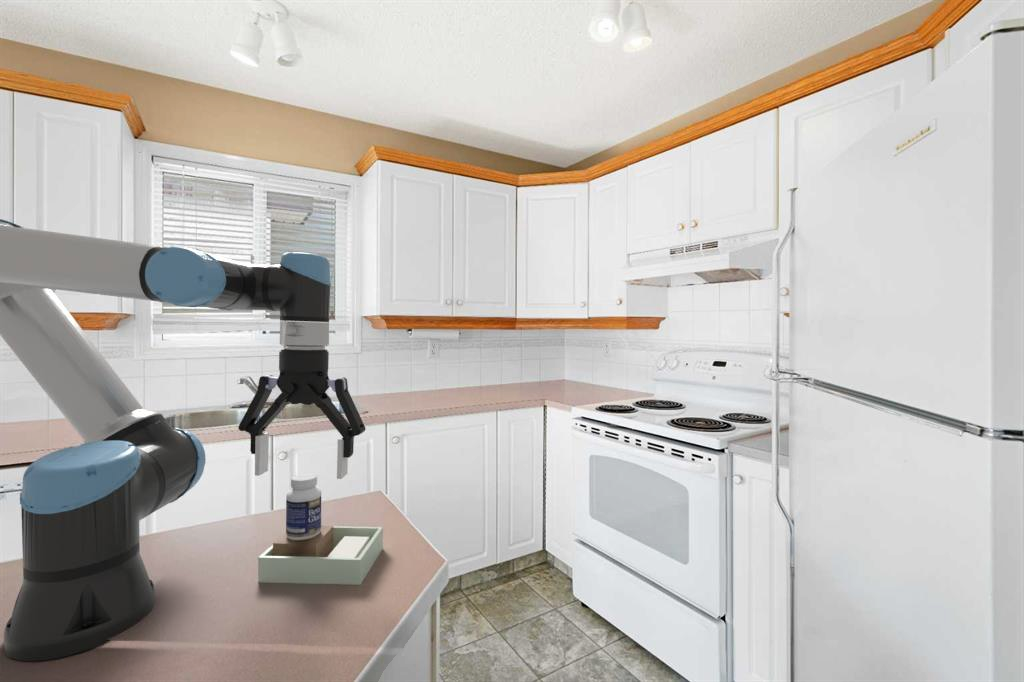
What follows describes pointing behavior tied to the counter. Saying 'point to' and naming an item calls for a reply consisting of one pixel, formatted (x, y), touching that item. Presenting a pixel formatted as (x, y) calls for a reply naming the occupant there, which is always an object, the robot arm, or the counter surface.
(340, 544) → the white box
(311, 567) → the box
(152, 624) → the counter surface
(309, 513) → the pill bottle
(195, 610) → the counter surface
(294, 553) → the walnut block
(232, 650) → the counter surface
